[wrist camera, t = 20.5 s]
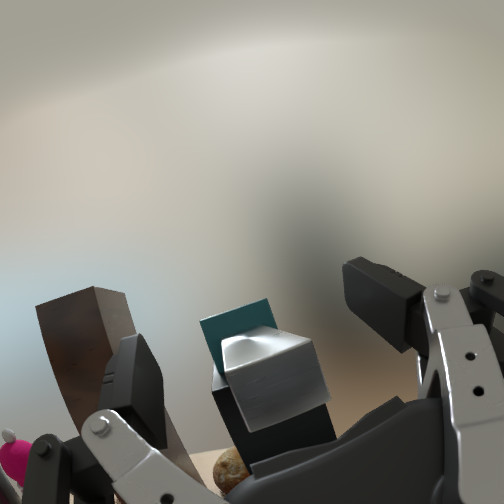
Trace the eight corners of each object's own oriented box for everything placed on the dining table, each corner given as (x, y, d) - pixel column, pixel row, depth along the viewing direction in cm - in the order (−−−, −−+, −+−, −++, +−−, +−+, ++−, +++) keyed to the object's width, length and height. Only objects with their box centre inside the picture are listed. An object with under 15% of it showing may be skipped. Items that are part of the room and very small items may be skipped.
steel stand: (308, 571, 11) (210, 391, 14) (285, 518, 21) (213, 361, 24) (369, 545, 12) (309, 355, 15) (333, 499, 22) (275, 339, 25)
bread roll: (254, 474, 37) (222, 445, 39) (298, 453, 34) (263, 420, 37) (229, 510, 28) (191, 477, 30) (277, 494, 25) (234, 457, 27)
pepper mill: (107, 577, 9) (0, 439, 12) (65, 564, 9) (-29, 434, 12) (125, 545, 16) (41, 420, 19) (85, 538, 16) (9, 420, 19)
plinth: (152, 542, 18) (34, 306, 23) (162, 503, 27) (75, 308, 32) (212, 536, 19) (93, 285, 24) (211, 495, 29) (124, 292, 34)
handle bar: (220, 442, 8) (175, 333, 8) (218, 361, 23) (202, 318, 24) (357, 387, 9) (323, 282, 9) (272, 342, 24) (257, 300, 25)
